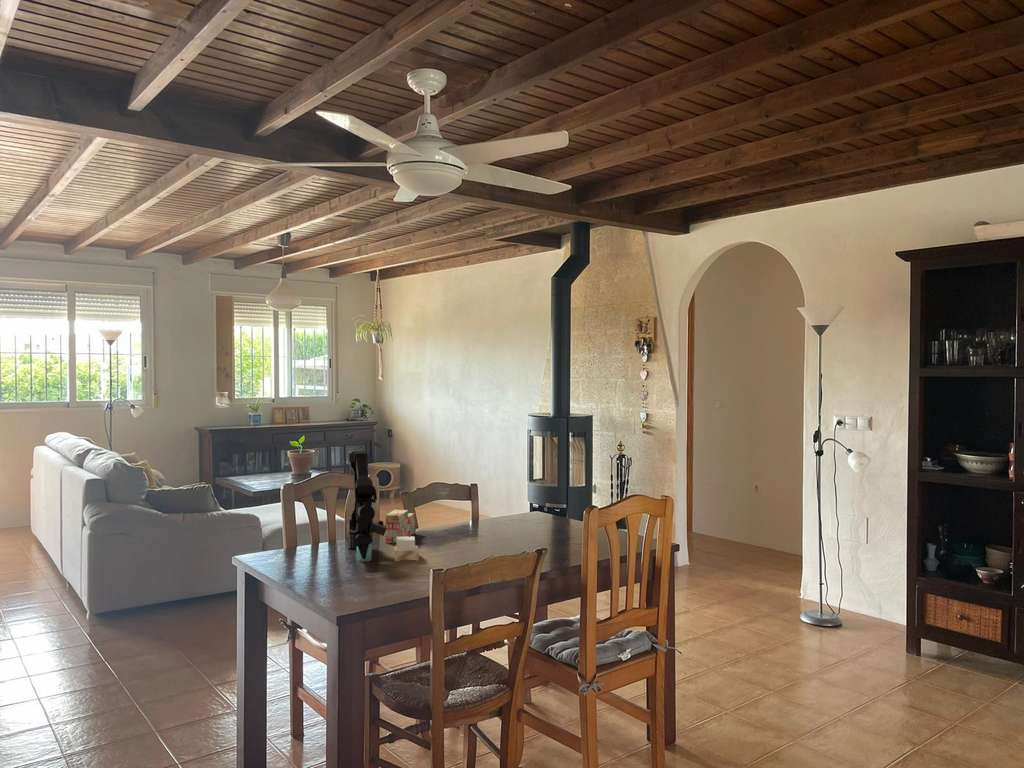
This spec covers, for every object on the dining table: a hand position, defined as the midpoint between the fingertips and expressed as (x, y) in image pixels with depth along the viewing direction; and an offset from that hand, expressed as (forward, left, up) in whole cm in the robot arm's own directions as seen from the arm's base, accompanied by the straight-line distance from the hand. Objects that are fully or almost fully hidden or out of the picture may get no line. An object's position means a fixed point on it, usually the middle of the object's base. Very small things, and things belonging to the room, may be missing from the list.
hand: (364, 557), depth 299 cm
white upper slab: (+14, +8, +2) cm, 16 cm away
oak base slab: (+14, +8, -2) cm, 16 cm away
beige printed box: (-3, +40, -1) cm, 40 cm away
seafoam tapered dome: (0, 0, -1) cm, 1 cm away
